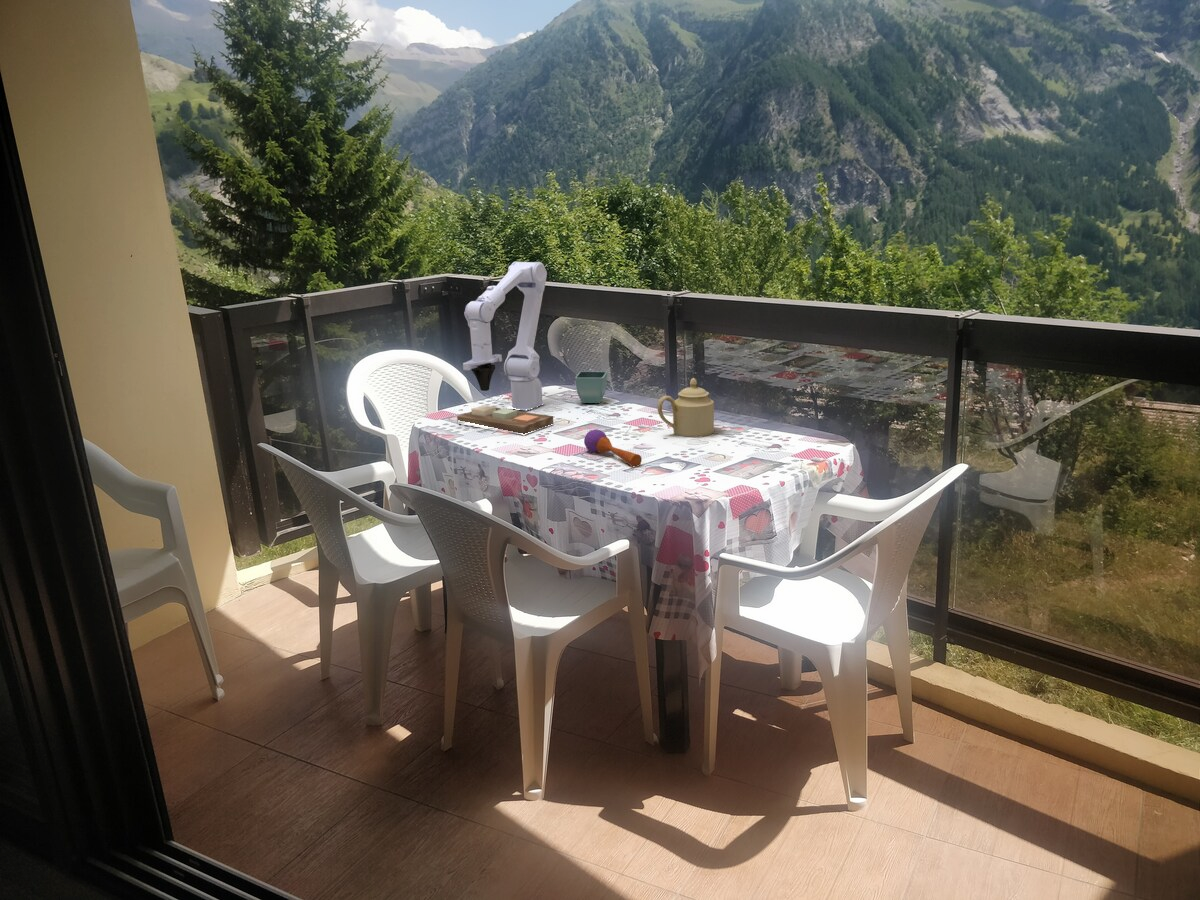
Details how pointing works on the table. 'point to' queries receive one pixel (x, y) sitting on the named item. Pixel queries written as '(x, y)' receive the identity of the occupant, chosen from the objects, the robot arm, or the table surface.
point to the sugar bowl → (690, 412)
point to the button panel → (508, 421)
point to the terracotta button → (526, 418)
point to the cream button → (483, 410)
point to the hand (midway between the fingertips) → (484, 390)
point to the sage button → (504, 413)
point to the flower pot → (591, 386)
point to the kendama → (609, 447)
